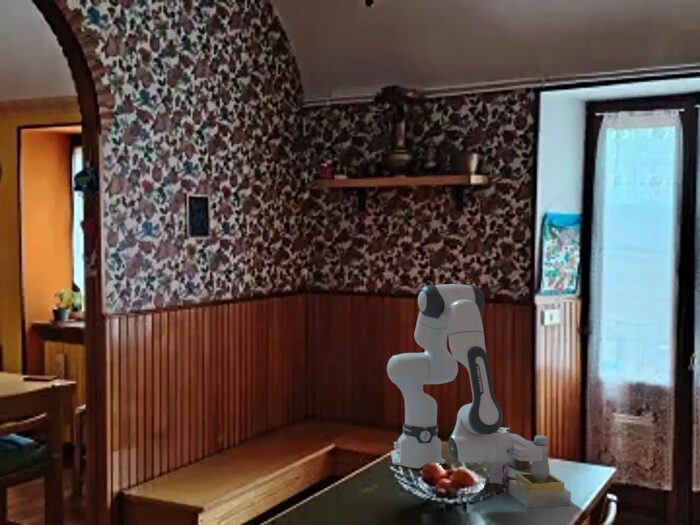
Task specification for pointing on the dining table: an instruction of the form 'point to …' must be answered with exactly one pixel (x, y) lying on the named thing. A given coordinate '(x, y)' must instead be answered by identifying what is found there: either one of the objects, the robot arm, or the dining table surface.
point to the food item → (518, 464)
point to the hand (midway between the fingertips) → (543, 446)
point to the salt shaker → (540, 467)
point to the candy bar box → (499, 467)
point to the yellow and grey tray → (539, 491)
